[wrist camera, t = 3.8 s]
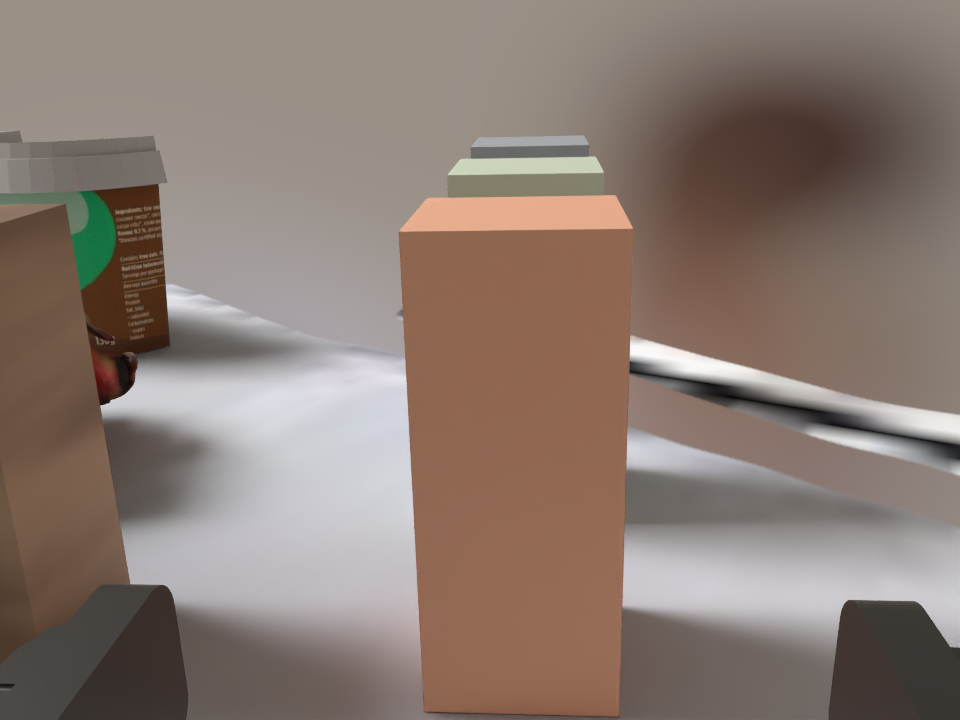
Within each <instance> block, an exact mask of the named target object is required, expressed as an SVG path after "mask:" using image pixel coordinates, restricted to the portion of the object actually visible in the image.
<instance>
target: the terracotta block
mask: <svg viewBox="0 0 960 720" xmlns="http://www.w3.org/2000/svg"><path fill="white" fill-rule="evenodd" d="M399 247H400V263H401V264H400V265H401V283H402V303H403V322H404V341H405V359H406V378H407V397H408V416H409V434H410V453H411V472H412V491H413V510H414V528H415V547H416V566H417V585H418V603H419V622H420V641H421V660H422V678H423V697H424V712H456V713H494V714H532V715H571V716H609V717H619V703H620V668H621V633H622V599H623V564H624V529H625V495H626V460H627V425H628V390H629V356H630V319H631V285H632V283H631V282H632V251H633V250H632V248H633V228H632V226H631V224H630V222H629V220H628V218H627V216H626V214H625V212H624V211H623V209H622V207H621V205H620V203H619V201H618V199H617V197H616V196H615V195H605V196H604V195H599V196H533V197H467V198H427V199H426V200H425V201H424V203H423V204H422V205H421V206H420V207H419V208H418V210H417V211H416V212H415V213H414V214H413V216H412V217H411V218H410V219H409V220H408V221H407V222H406V224H405V225H404V226H403V227H402V229H401V230H400V231H399Z"/></svg>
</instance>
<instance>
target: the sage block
mask: <svg viewBox="0 0 960 720" xmlns="http://www.w3.org/2000/svg"><path fill="white" fill-rule="evenodd" d="M447 183H448V198H467V197H533V196H599V195H604V172H603V170H602V168H601V166H600V164H599V162H598V160H597V159H596V157H552V158H493V159H461V160H460V161H459V162H458V163H457V164H456V166H455V167H454V168H453V169H452V170H451V171H450V173H449V174H448V175H447Z"/></svg>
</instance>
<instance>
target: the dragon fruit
mask: <svg viewBox="0 0 960 720" xmlns="http://www.w3.org/2000/svg"><path fill="white" fill-rule="evenodd" d="M84 314H85V320H86V326H87V331H88V332H89V333H90V334H92V335H94V336H96V337H98V338H100V339H102V340H105V341H115V340H114V338H113V337H112V336H111V335H110V334H108V333H107V332H105V331H103V330H100V329H98V328H96V327H94V326H93V325H91V324H89V323H91V321H90V318H89V317H88V316H87V315H86V313H85V312H84ZM90 349H91V355H92V361H93V367H94V373H95V379H96V385H97V391H98V397H99V403H100V405H105V404H107V403H110V400H112V399H116V398H118V397H121V396H122V395H124V394H125V393H127V392H128V391H129V390H130V388H131V387H132V386H133V384H134V382H135V373H136V370H137V364H138V362H137V358H136V355H135V354H134V353H132V352H126V353H123V354H122V355H121V356H115V355H112V354H108V353H105V352H102V351H101V350H98V349H96V348H94V347H92V346H90Z"/></svg>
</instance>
